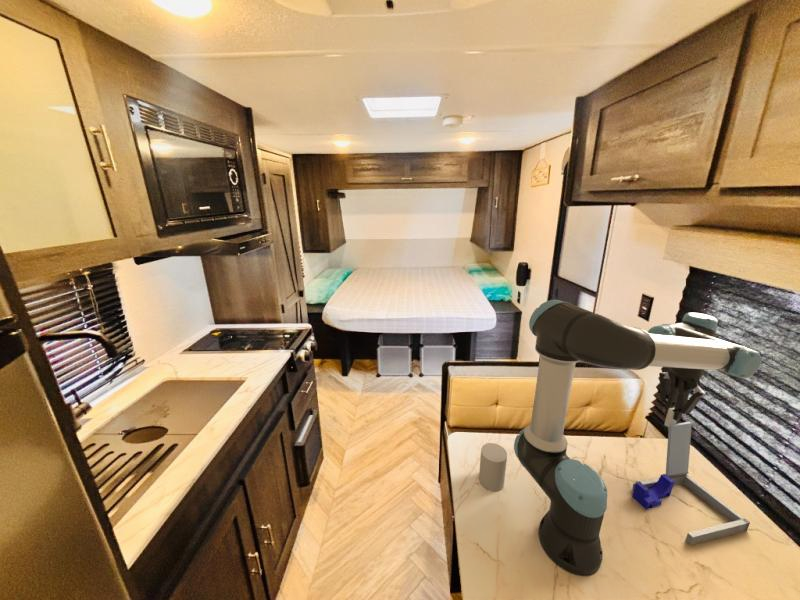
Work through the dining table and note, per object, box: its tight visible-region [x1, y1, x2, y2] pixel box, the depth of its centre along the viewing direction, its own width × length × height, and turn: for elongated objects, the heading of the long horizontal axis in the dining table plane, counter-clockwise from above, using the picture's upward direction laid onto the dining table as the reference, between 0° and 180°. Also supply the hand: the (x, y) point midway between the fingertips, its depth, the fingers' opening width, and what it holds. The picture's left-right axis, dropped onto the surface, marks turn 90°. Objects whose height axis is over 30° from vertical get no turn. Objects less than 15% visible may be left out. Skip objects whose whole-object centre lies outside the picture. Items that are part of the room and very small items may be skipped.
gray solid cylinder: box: [478, 442, 508, 493], centre depth 101 cm, size 8×8×12 cm
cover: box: [664, 421, 693, 478], centre depth 100 cm, size 8×18×2 cm
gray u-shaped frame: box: [631, 474, 751, 546], centre depth 93 cm, size 20×17×3 cm
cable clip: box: [631, 473, 675, 511], centre depth 96 cm, size 12×4×6 cm, turn 105°
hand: (669, 425), depth 102 cm, fingers closed
